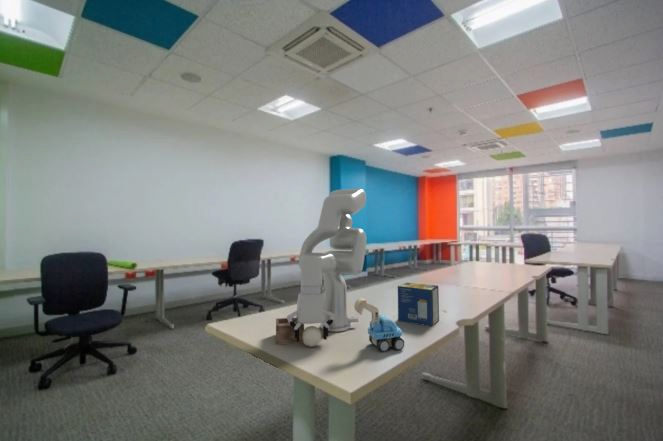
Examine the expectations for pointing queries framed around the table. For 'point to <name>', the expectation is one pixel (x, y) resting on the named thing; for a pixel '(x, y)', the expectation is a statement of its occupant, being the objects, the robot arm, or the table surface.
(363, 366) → the table surface
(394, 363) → the table surface
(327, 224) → the robot arm
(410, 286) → the protein box
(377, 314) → the toy excavator
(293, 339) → the walnut block
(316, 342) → the steamed bun
